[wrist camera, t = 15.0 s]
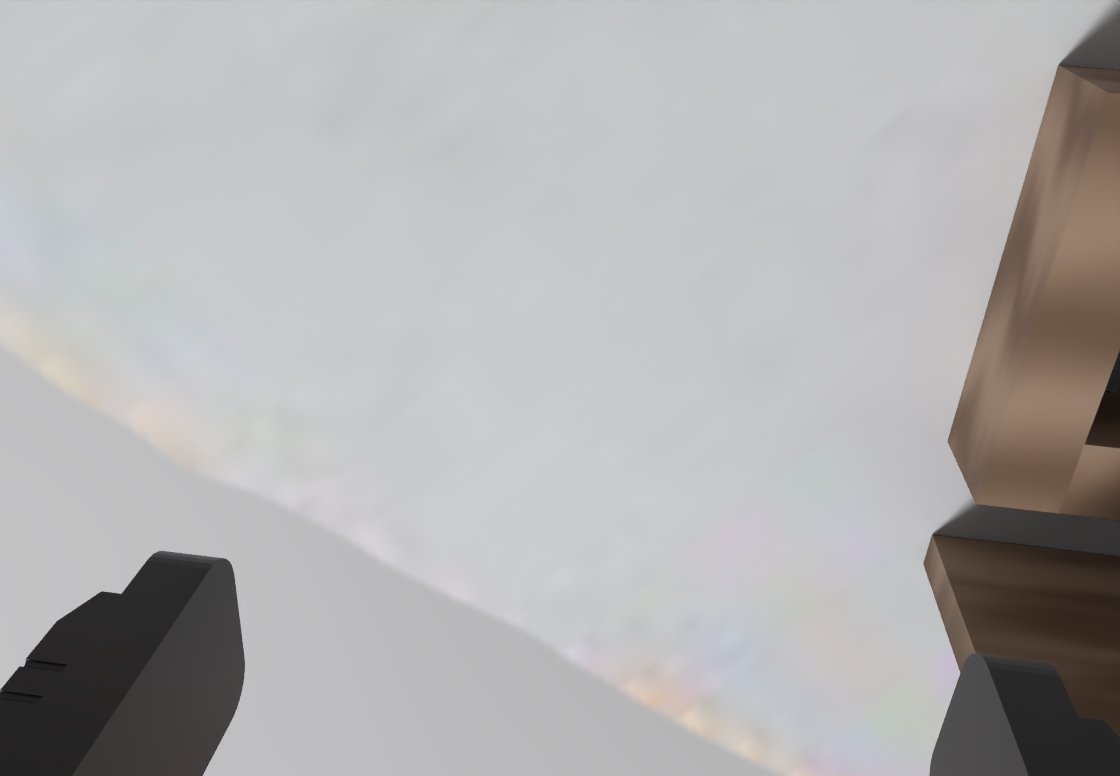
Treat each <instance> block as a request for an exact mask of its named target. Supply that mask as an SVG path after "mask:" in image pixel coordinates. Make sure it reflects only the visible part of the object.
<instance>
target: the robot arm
mask: <svg viewBox="0 0 1120 776" xmlns="http://www.w3.org/2000/svg"><path fill="white" fill-rule="evenodd" d="M244 671H245V660H244V651H243V642H242V634H241V626H240V618H239V610H238V602H237V594H236V586H235V578H234V572H233V568H232V565H231V563H230V562H229V561H228V560H227V559H224V558H215V557H207V556H199V555H191V554H182V553H175V552H167V551H159V552H157V553H154V554H153V555H152V556H151V557H150V558H149V559H148V560H147V561H146V563H145V564H144V565H143V567H142V568H141V569H140V570H139V572H138V573H137V574H136V576H135V577H134V578H133V580H132V581H131V582H130V584H129V585H128V586H127V587H126V589H125V590H124V591H123V593H122V594H117V593H109V592H100V593H99V594H97V595H96V596H94V597H93V598H91V599H90V600H88V601H87V602H85V603H84V604H82V605H81V606H79V607H78V608H76V609H75V610H73V611H72V612H70V613H69V614H67V615H66V616H64V617H63V618H61V619H60V620H58V621H57V622H56V623H55V624H54V625H53V627H52V628H51V629H50V630H49V632H48V633H47V634H46V635H45V636H44V638H43V639H42V640H41V641H40V643H39V644H38V645H37V646H36V647H35V649H34V650H33V651H32V652H31V653H30V655H29V656H28V657H27V658H26V663H25V666H24V667H19V668H18V669H17V670H16V672H15V673H14V674H13V675H12V676H11V678H10V679H9V680H8V681H7V682H6V684H5V685H4V686H3V687H2V688H1V690H0V776H202V775H203V774H204V772H205V770H206V768H207V766H208V764H209V762H210V760H211V758H212V756H213V755H214V753H215V751H216V749H217V747H218V745H219V743H220V741H221V739H222V737H223V736H224V734H225V732H226V730H227V728H228V726H229V724H230V722H231V720H232V718H233V716H234V714H235V711H236V709H237V706H238V703H239V700H240V696H241V692H242V686H243V681H244ZM930 776H1120V737H1119V736H1118V735H1117V734H1116V733H1115V732H1114V731H1113V730H1112V729H1111V728H1110V727H1109V726H1108V725H1107V724H1106V723H1105V722H1104V721H1103V720H1096V719H1088V718H1080V717H1078V715H1077V713H1076V711H1075V708H1074V706H1073V704H1072V702H1071V700H1070V698H1069V695H1068V693H1067V691H1066V689H1065V687H1064V684H1063V682H1062V680H1061V678H1060V676H1059V674H1058V672H1057V670H1056V669H1055V668H1054V667H1053V666H1052V665H1051V664H1050V663H1048V662H1044V661H1036V660H1028V659H1020V658H1012V657H1004V656H996V655H987V654H979V653H973V654H971V655H970V656H969V657H968V658H967V660H966V661H965V663H964V665H963V668H962V671H961V673H960V676H959V679H958V682H957V685H956V688H955V691H954V694H953V696H952V699H951V702H950V705H949V708H948V711H947V714H946V716H945V719H944V722H943V725H942V728H941V731H940V734H939V737H938V739H937V742H936V745H935V748H934V751H933V755H932V760H931V766H930Z"/></svg>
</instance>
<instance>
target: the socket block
mask: <svg viewBox="0 0 1120 776" xmlns="http://www.w3.org/2000/svg"><path fill="white" fill-rule="evenodd" d="M1119 351H1120V70H1110V69H1097V68H1085V67H1073V66H1061V65H1058V69H1057V72H1056V76H1055V79H1054V82H1053V86H1052V89H1051V92H1050V96H1049V99H1048V103H1047V106H1046V109H1045V113H1044V116H1043V120H1042V123H1041V126H1040V130H1039V133H1038V137H1037V140H1036V143H1035V147H1034V150H1033V154H1032V157H1031V160H1030V164H1029V167H1028V171H1027V174H1026V177H1025V181H1024V184H1023V187H1022V191H1021V194H1020V198H1019V201H1018V204H1017V208H1016V211H1015V215H1014V218H1013V221H1012V225H1011V228H1010V232H1009V235H1008V238H1007V242H1006V245H1005V249H1004V252H1003V255H1002V259H1001V262H1000V266H999V269H998V272H997V276H996V279H995V283H994V286H993V289H992V293H991V296H990V299H989V303H988V306H987V310H986V313H985V316H984V320H983V323H982V327H981V330H980V333H979V337H978V340H977V344H976V347H975V350H974V354H973V357H972V361H971V364H970V367H969V371H968V374H967V378H966V381H965V384H964V388H963V391H962V394H961V398H960V401H959V405H958V408H957V411H956V415H955V418H954V422H953V425H952V428H951V432H950V435H949V439H948V443H949V446H950V448H951V450H952V452H953V454H954V457H955V459H956V461H957V463H958V465H959V468H960V470H961V472H962V474H963V476H964V479H965V481H966V483H967V485H968V488H969V490H970V492H971V494H972V496H973V499H974V501H975V503H976V504H979V505H988V506H997V507H1006V508H1015V509H1023V510H1032V511H1041V512H1050V513H1059V514H1068V515H1077V516H1085V517H1094V518H1103V519H1112V520H1120V393H1112V392H1104V391H1105V389H1106V386H1107V383H1108V381H1109V378H1110V375H1111V373H1112V370H1113V367H1114V365H1115V362H1116V359H1117V357H1118V354H1119Z"/></svg>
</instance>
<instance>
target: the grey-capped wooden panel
mask: <svg viewBox="0 0 1120 776" xmlns="http://www.w3.org/2000/svg"><path fill="white" fill-rule="evenodd" d="M924 567H925V570H926V573H927V576H928V579H929V582H930V585H931V587H932V590H933V593H934V596H935V599H936V602H937V605H938V608H939V611H940V614H941V617H942V620H943V623H944V626H945V629H946V632H947V635H948V637H949V640H950V643H951V646H952V649H953V652H954V655H955V658H956V661H957V664H958V667H959V670H960V673H961V671H962V668H963V665H964V663H965V661H966V660H967V658H968V657H969V656H970V655H971V654H973V653H979V654H987V655H996V656H1004V657H1012V658H1020V659H1028V660H1036V661H1044V662H1048V663H1050V664H1051V665H1052V666H1053V667H1054V668H1055V669H1056V670H1057V672H1058V674H1059V676H1060V678H1061V680H1062V682H1063V684H1064V687H1065V689H1066V691H1067V693H1068V695H1069V698H1070V700H1071V702H1072V704H1073V706H1074V708H1075V711H1076V713H1077V715H1078V717H1080V718H1088V719H1096V720H1103V721H1104V722H1105V723H1106V724H1107V725H1108V726H1109V727H1110V728H1111V729H1112V730H1113V731H1114V732H1115V733H1116V734H1117V735H1118V736H1119V737H1120V556H1112V555H1104V554H1095V553H1086V552H1078V551H1069V550H1060V549H1052V548H1043V547H1034V546H1026V545H1017V544H1008V543H1000V542H991V541H982V540H974V539H965V538H956V537H948V536H939V535H932V537H931V541H930V544H929V547H928V551H927V554H926V557H925V560H924Z"/></svg>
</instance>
